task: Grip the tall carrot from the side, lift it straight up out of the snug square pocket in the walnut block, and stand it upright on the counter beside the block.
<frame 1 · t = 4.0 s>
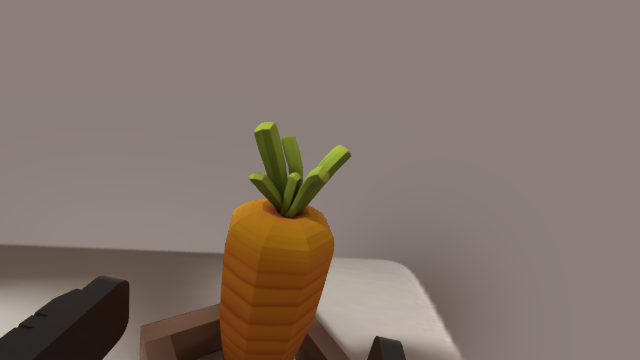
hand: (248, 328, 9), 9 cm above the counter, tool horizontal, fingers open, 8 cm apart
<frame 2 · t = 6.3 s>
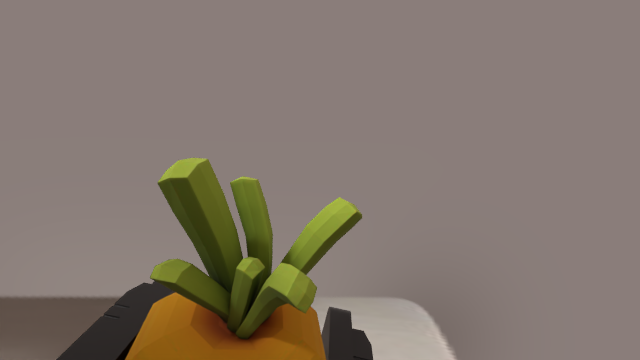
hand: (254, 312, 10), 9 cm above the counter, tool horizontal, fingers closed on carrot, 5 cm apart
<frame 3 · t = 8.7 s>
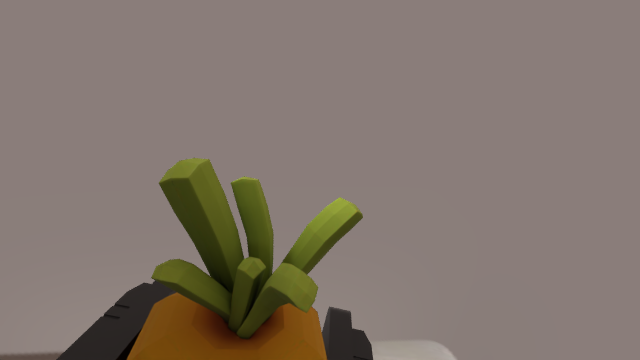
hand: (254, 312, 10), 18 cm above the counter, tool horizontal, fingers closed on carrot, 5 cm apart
when the fingers open (10 cm above the counter, at t = 11.2 s): carrot drops 1 cm, on the counter.
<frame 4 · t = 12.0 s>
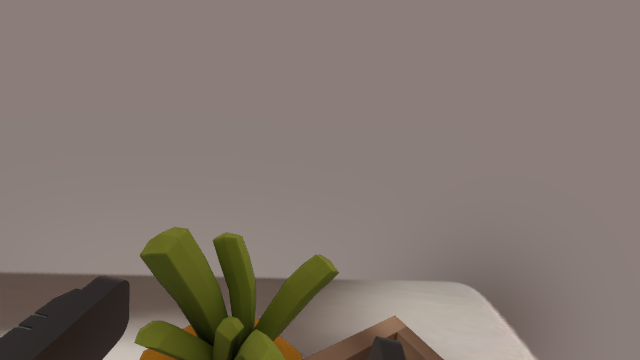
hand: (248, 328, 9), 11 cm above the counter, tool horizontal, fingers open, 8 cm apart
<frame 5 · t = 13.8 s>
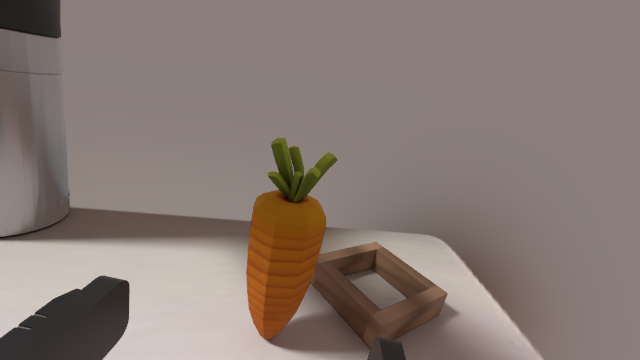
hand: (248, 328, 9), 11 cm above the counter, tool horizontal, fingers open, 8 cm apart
carrot: (266, 339, 22), on the counter
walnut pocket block: (371, 295, 29), on the counter
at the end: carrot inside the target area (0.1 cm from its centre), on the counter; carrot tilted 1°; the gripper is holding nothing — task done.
